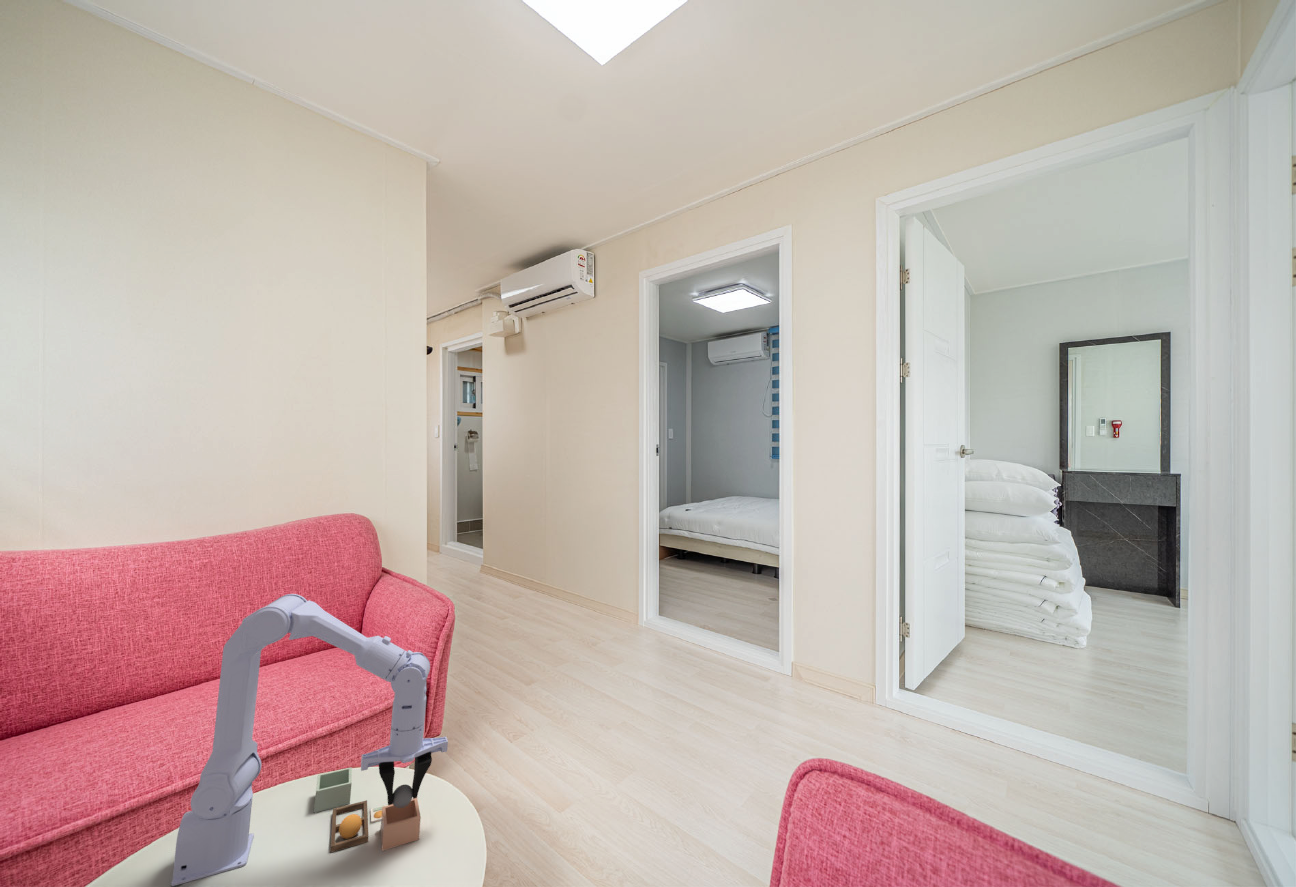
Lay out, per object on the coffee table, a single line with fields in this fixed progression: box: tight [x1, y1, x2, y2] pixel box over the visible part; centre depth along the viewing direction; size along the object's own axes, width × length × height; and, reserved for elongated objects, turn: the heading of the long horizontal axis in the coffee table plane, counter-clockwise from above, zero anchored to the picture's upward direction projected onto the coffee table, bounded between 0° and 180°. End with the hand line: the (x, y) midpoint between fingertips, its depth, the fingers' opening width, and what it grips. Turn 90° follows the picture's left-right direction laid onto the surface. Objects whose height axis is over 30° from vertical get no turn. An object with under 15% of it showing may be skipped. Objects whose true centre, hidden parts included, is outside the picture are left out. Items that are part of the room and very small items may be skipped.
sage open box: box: [313, 766, 353, 814], centre depth 101 cm, size 6×6×4 cm
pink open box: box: [380, 797, 422, 852], centre depth 92 cm, size 6×6×4 cm
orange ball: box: [338, 813, 363, 840], centre depth 91 cm, size 4×4×4 cm
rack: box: [329, 799, 370, 854], centre depth 93 cm, size 6×11×1 cm, turn 31°
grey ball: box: [393, 784, 413, 808], centre depth 93 cm, size 4×4×4 cm
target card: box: [369, 803, 393, 824], centre depth 98 cm, size 6×4×1 cm, turn 121°
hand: (402, 798), depth 93 cm, fingers closed on grey ball, 3 cm apart
